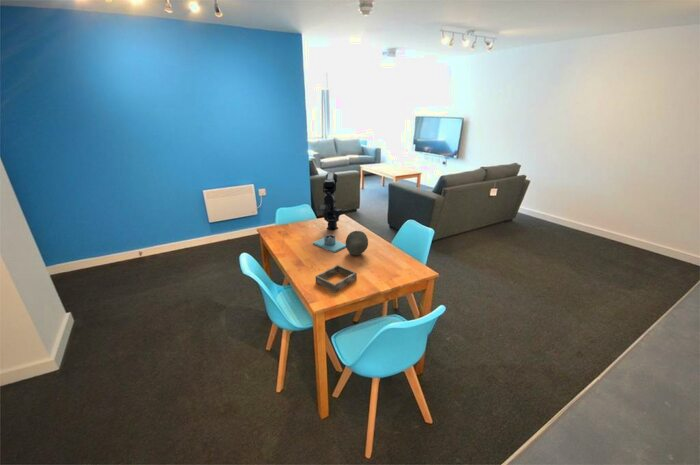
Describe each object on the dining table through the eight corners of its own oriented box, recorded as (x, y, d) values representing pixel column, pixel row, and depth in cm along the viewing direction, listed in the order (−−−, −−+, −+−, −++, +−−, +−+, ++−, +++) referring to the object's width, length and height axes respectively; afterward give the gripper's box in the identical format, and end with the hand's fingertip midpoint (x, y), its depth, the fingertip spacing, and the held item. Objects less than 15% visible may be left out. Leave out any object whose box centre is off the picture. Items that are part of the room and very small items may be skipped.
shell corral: (337, 271, 165) (337, 264, 163) (356, 279, 157) (356, 272, 155) (315, 283, 153) (315, 276, 152) (334, 292, 145) (334, 285, 144)
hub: (329, 240, 201) (329, 233, 199) (337, 243, 197) (337, 236, 195) (322, 243, 196) (322, 236, 194) (330, 246, 192) (329, 239, 190)
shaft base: (325, 238, 207) (325, 231, 205) (347, 246, 195) (347, 239, 193) (312, 244, 199) (312, 236, 197) (334, 252, 186) (334, 245, 185)
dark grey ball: (341, 256, 181) (340, 233, 176) (351, 247, 193) (351, 226, 187) (362, 261, 175) (362, 238, 170) (372, 252, 187) (372, 230, 181)
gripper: (311, 199, 198) (312, 221, 203) (331, 204, 186) (332, 228, 192) (323, 196, 205) (324, 217, 211) (343, 201, 194) (343, 223, 200)
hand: (330, 221), depth 203 cm, fingers open, 9 cm apart
